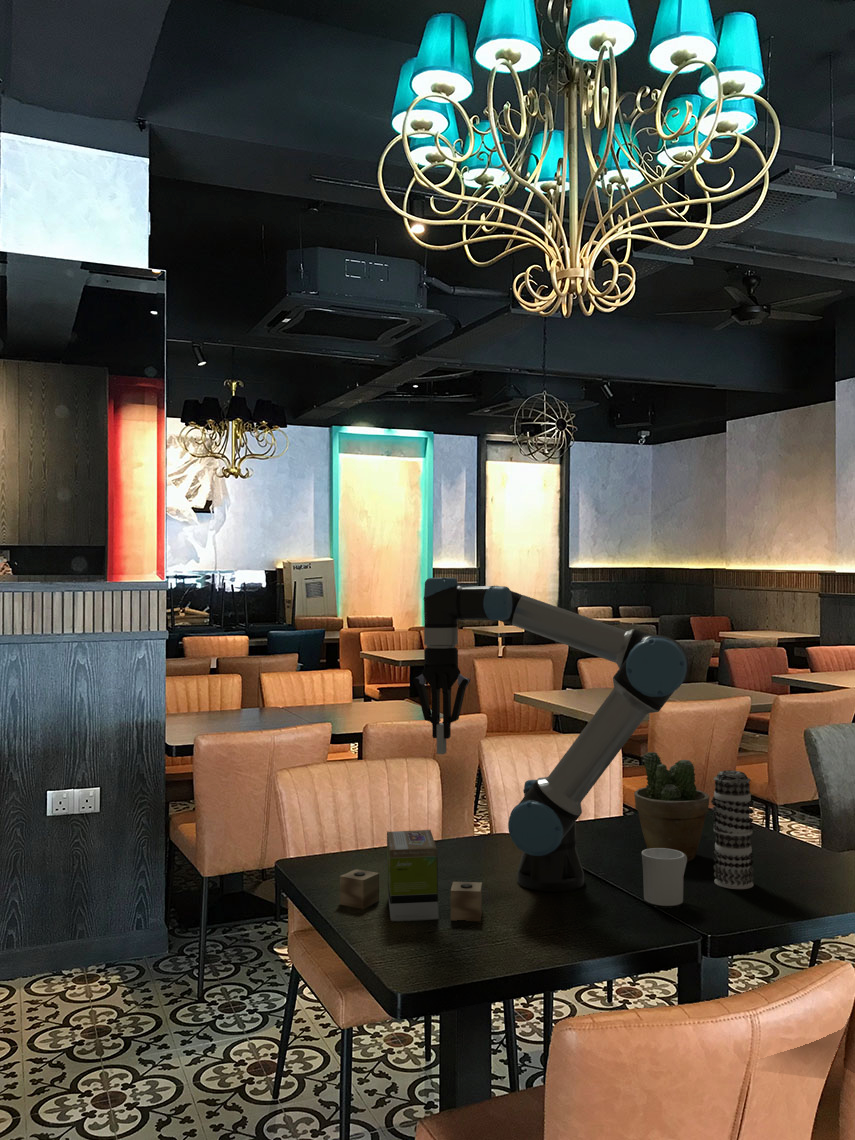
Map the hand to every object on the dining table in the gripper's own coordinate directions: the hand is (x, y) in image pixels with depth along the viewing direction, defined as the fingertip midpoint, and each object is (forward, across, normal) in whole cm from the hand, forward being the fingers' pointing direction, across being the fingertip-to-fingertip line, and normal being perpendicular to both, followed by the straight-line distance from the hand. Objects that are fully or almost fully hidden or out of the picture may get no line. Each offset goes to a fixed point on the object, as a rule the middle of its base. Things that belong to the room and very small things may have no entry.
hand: (441, 753), depth 208 cm
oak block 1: (+31, +15, +12) cm, 36 cm away
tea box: (+31, +3, +13) cm, 33 cm away
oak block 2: (+31, -9, +14) cm, 35 cm away
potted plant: (+31, -48, -43) cm, 71 cm away
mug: (+31, -48, -6) cm, 57 cm away
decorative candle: (+31, -62, -23) cm, 73 cm away
